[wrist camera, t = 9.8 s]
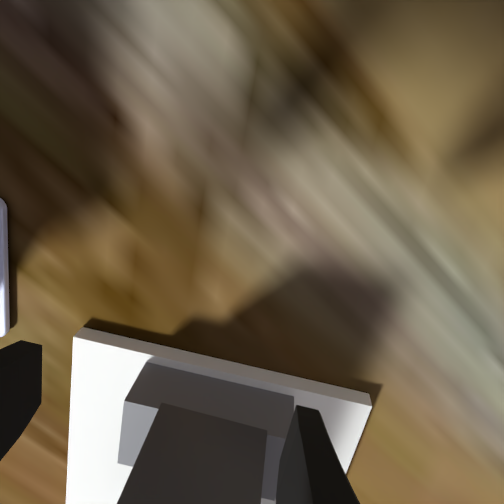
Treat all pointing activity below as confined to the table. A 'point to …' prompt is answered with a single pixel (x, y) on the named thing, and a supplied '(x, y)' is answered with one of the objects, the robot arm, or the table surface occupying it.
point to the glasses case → (197, 461)
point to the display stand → (185, 396)
